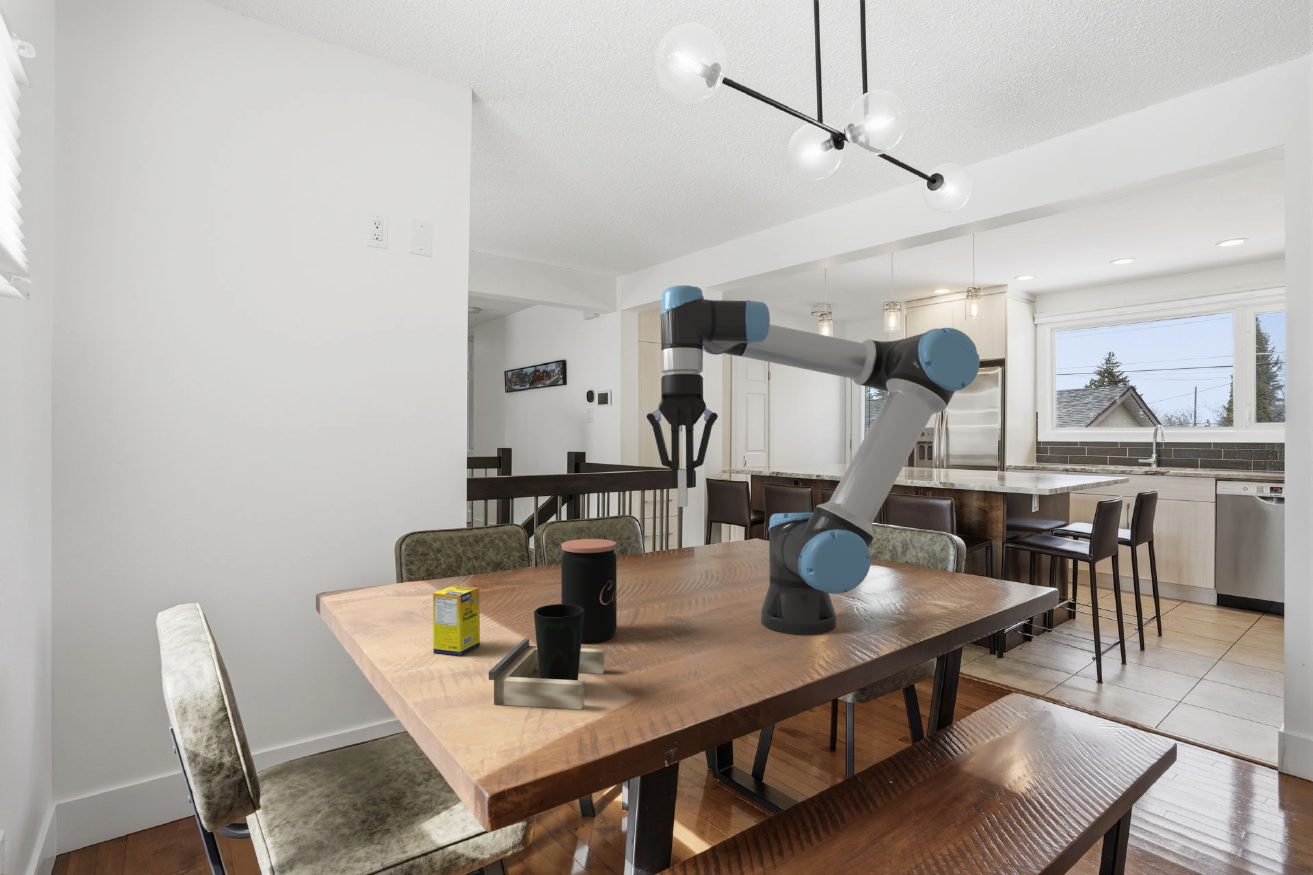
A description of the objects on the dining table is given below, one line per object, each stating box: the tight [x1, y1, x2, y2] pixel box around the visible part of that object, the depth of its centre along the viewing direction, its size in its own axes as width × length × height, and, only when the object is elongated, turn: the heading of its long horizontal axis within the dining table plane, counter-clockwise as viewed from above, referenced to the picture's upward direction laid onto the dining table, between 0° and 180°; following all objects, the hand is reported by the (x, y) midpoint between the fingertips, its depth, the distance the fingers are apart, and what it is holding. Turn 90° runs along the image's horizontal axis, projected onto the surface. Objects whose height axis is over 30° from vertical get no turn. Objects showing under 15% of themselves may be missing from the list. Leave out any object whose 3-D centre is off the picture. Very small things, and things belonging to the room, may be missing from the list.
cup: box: [533, 603, 584, 681], centre depth 96 cm, size 8×8×12 cm
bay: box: [488, 638, 606, 710], centre depth 97 cm, size 14×15×5 cm
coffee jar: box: [560, 538, 618, 644], centre depth 122 cm, size 11×11×18 cm
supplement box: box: [432, 585, 481, 657], centre depth 114 cm, size 6×6×11 cm
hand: (682, 505), depth 112 cm, fingers closed
